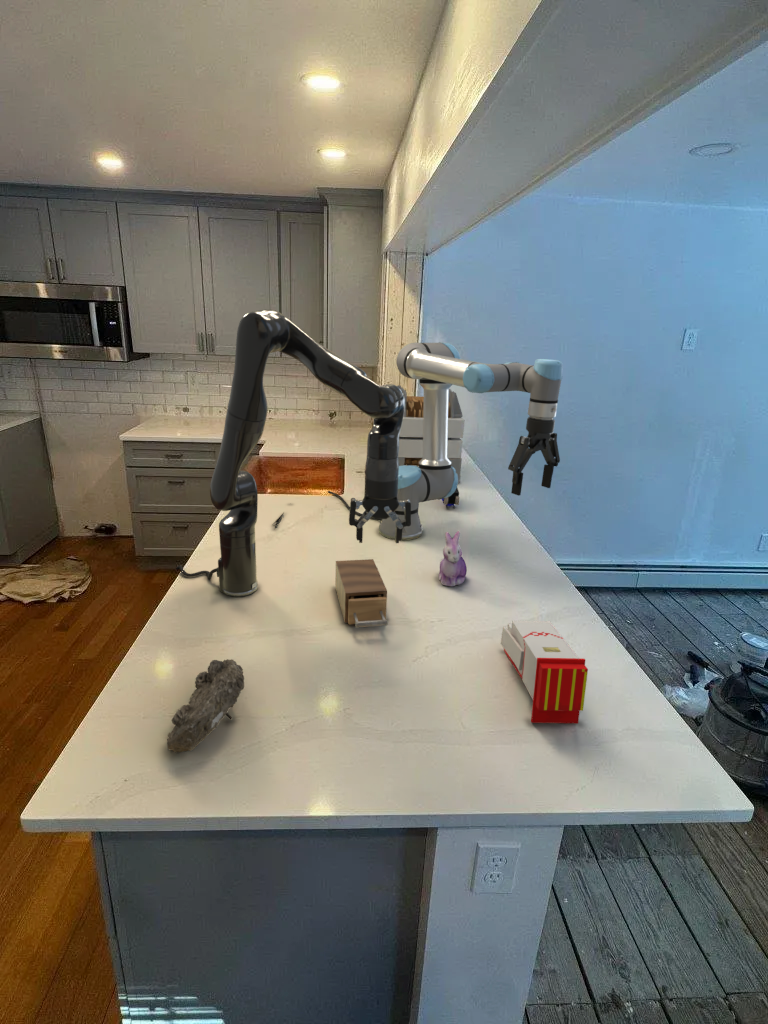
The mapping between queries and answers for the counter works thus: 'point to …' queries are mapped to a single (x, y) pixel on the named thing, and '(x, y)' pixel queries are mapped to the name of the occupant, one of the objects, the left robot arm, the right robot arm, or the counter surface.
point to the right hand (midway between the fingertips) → (531, 490)
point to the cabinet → (357, 581)
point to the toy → (547, 670)
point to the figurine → (452, 562)
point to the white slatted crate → (413, 432)
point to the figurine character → (452, 499)
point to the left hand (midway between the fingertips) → (378, 541)
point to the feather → (278, 520)
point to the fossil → (206, 705)
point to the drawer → (367, 610)
